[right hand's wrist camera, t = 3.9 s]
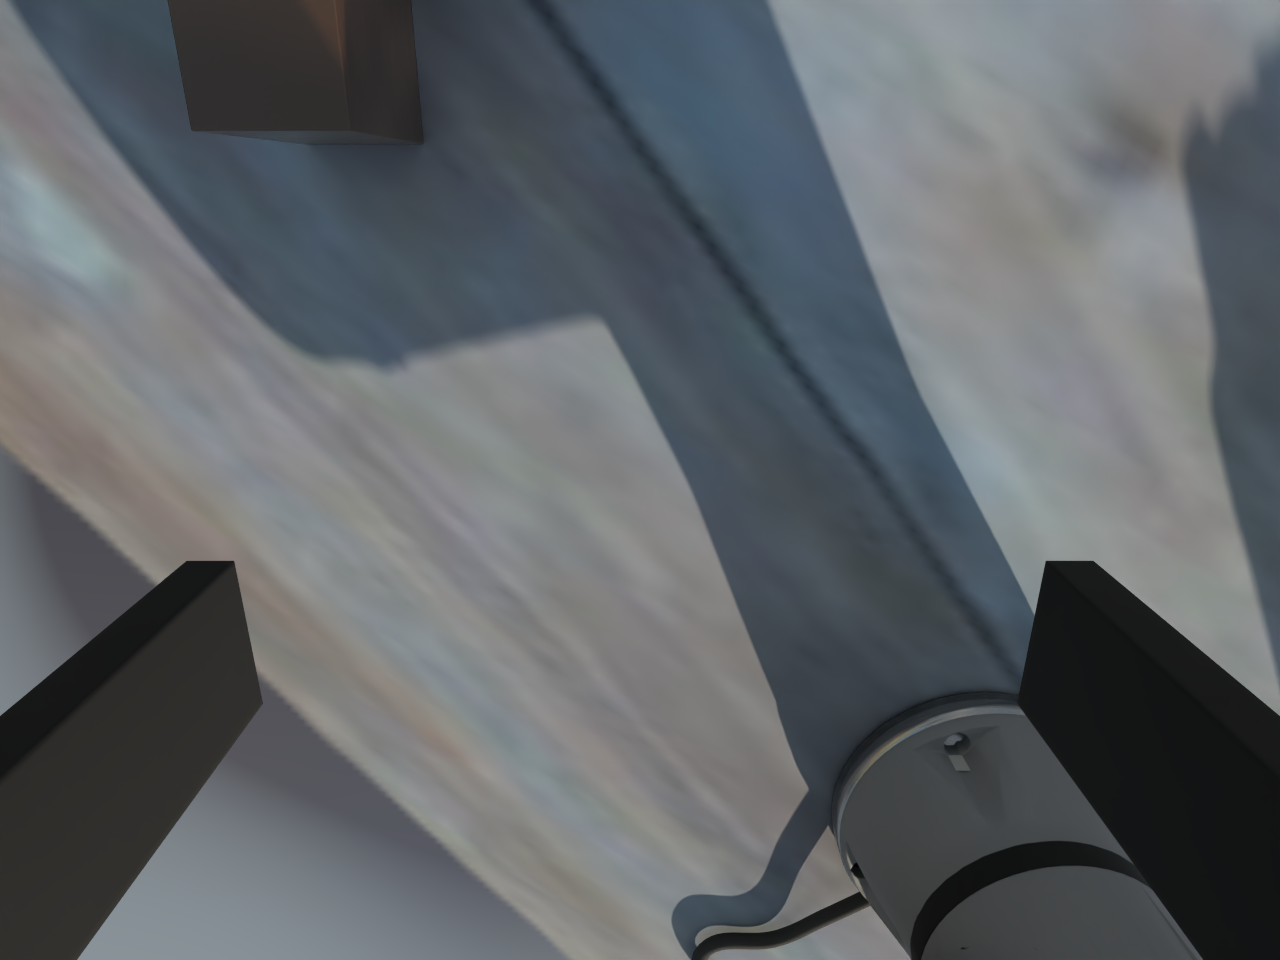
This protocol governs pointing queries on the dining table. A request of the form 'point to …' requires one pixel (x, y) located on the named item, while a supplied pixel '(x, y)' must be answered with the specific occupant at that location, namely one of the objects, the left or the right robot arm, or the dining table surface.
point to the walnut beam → (300, 69)
